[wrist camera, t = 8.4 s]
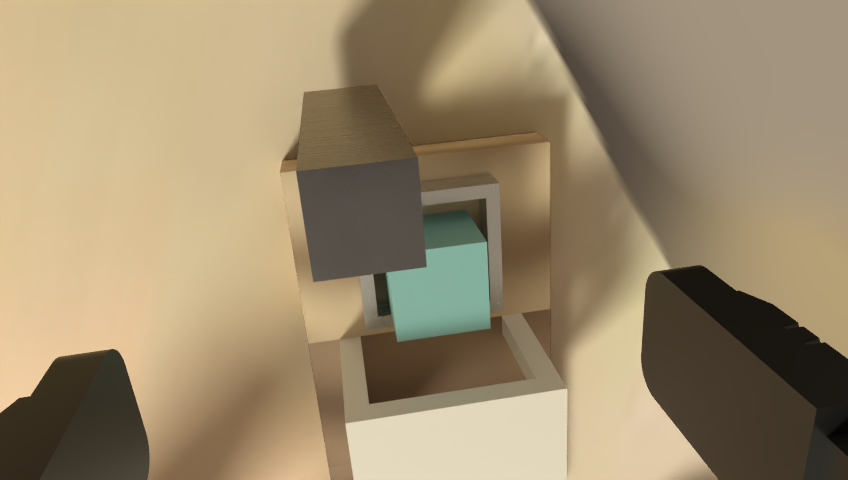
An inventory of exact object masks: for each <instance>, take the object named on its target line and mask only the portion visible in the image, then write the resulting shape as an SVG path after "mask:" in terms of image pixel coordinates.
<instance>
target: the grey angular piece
mask: <svg viewBox="0 0 848 480" xmlns="http://www.w3.org/2000/svg"><path fill="white" fill-rule="evenodd" d="M296 175H297V182H298V188H299V194H300V201H301V207H302V214H303V220H304V227H305V233H306V239H307V246H308V252H309V259H310V265H311V272H312V278H313V282H319V281H327V280H334V279H342V278H349V277H357V276H359V278H360V286H361V294H362V302H363V310H364V318H365V325H366V330H372V329H379V328H386V327H393V326H394V325H393V320H392V316H391V311H390V307H389V302H388V300H384V301H377V302H376V294H375V286H374V277H373V274H379V273H387V272H394V271H402V270H409V269H417V268H424V267H427V262H426V250H425V238H424V225H423V213H422V206H425V205H434V204H442V203H450V202H458V201H466V200H474V199H479V214H480V232H481V233H482V235H483V237H484V238H485V240H486V241H487V256H488V279H489V303H490V313H491V312H498V311H504V308H503V278H502V248H501V218H500V188H499V182H498V181H497V180H496V179H495V178H494V177H493V175H492V174H482V175H474V176H466V177H457V178H449V179H440V180H432V181H423V182H420V176H419V164H418V157H417V155H416V153H415V151H414V150H413V148H412V146H411V144H410V143H409V141H408V139H407V137H406V135H405V134H404V132H403V130H402V128H401V127H400V125H399V123H398V121H397V120H396V118H395V116H394V114H393V113H392V111H391V109H390V107H389V106H388V104H387V102H386V100H385V99H384V97H383V95H382V93H381V92H380V90H379V88H378V86H377V85H371V86H361V87H351V88H341V89H331V90H321V91H311V92H304V97H303V107H302V117H301V127H300V136H299V146H298V156H297V165H296Z"/></svg>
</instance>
